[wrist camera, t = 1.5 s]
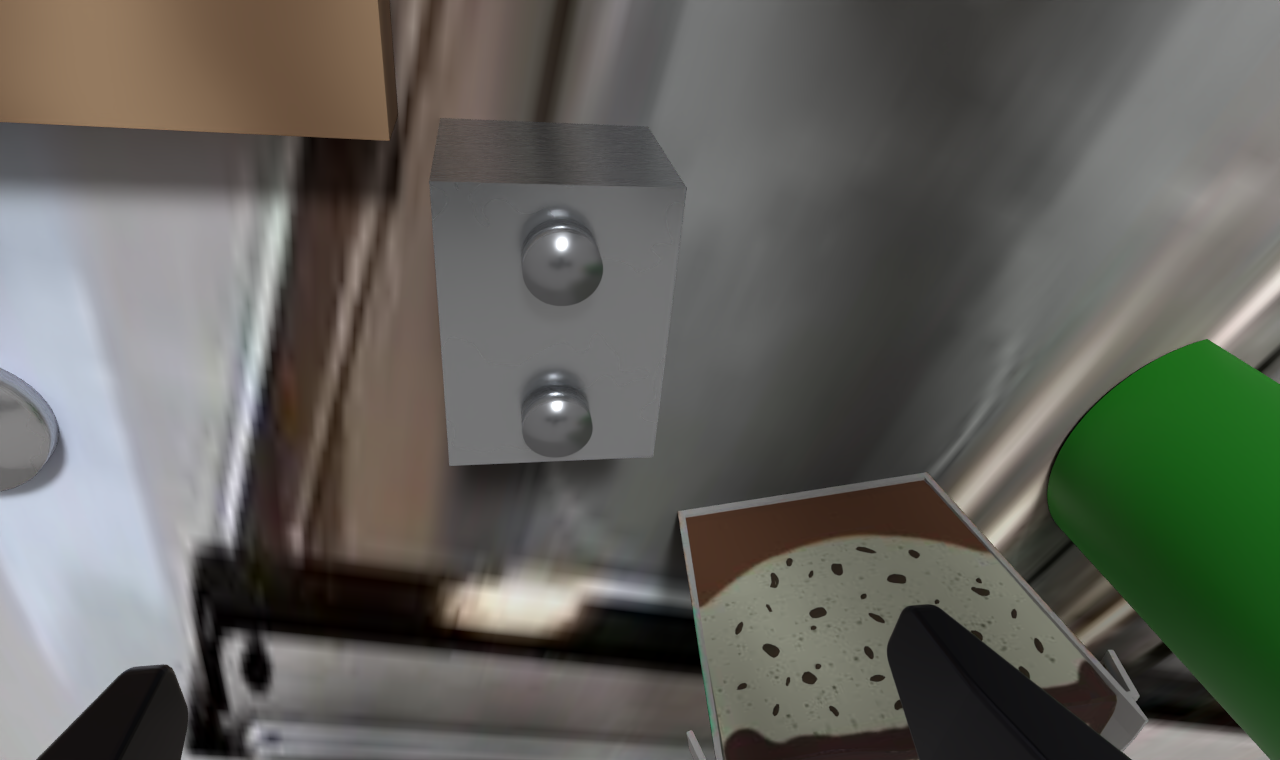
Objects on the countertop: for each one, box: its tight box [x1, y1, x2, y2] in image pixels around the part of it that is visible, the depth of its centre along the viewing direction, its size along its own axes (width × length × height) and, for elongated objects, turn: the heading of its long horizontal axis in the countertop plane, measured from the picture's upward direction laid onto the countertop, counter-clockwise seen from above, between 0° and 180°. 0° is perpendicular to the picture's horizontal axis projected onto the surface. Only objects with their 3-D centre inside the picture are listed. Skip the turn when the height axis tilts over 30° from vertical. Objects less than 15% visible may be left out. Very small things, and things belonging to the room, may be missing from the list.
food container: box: [678, 472, 1148, 760], centre depth 24 cm, size 12×6×10 cm, turn 92°
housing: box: [429, 118, 687, 466], centre depth 18 cm, size 5×7×5 cm
